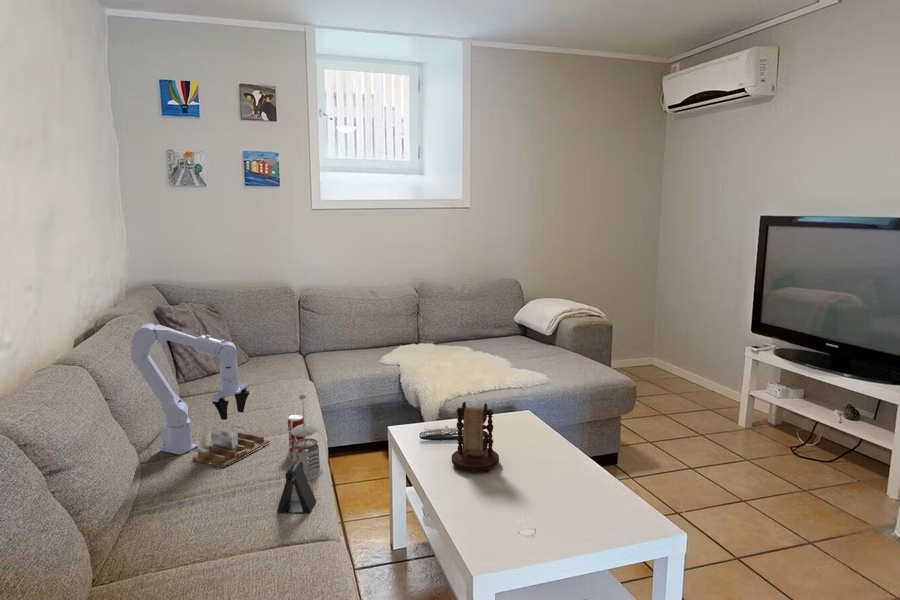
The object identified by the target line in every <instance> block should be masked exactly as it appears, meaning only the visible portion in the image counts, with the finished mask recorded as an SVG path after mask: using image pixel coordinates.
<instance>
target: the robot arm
mask: <svg viewBox="0 0 900 600" xmlns="http://www.w3.org/2000/svg"><path fill="white" fill-rule="evenodd" d="M156 341H157V342H156ZM168 341H169V342H173V343H178V344H181V345H186V346H189V347H192V348H194V351H195V352H196V353H201V354H204V355H207V356H211V357H214V358H217V357H218V359H219V375H220V386H221V387H220V388H221V390H219V391H218V392H216V393H215V394H213V395H211V402H212V404H213V405H214V406H215V409H216V410H217V412H218V414H219V416H220V419H221V420H224V421H226V420H228V405H229V402H230V401H228V400H226V399H227V398H228V397H231V396H234V399H235V401H236V402H235V403H236V410H237V413H244V411H245V408H246V402H247V399H248V397H249V395H250V391H249V383H241V384H240V379H239V370H238V367H239V366H238V362H237V361H238V359H237V355H238V354H237V353H238V352H237V347H236V345H235V343H233V342H231V341H230V340H224V339H220V340H219V339H217V338H213V337H211V335H210V334H205V335H204V334H202V335H200V336H194V335H191V334H188V333H185V332H183V331H179V330H177V329H174V328H171V327H167V326H165V325H162V324H155V323H152V322H145V323H143V324H141V325H140V326H139V328H138V329H137V330H136V331H135V332H134V334H133V336H132V338H131V339H130V343H131V347H130V348H131V349H130V350H131V351H130V359H131V361H132V362H133V364H134V365H135V367H136V368H137V370H138V371H139V373H140V374H141V376H142V378H143V379H144V381H145V382H146V383H147V384H148V386H149V387H150V389H151V390H152V392H153V394H154V395H155V396H156V398H157V399H158V400H159V402H160V404H161V407H162V411H163V412H164V414H165V417H166V418H165V420H166V423H165V422H164V424H163V425H162V427H161V430H160V437H161V446H162V448H160V451H161V452H166V453H171V454H175V455H182V454H185V453H186V452H189V451H191V450H193V449H196V448H197V447H199V444H198V443H193V434H192V423H191V419H190V418H189V417H188V415H189V411H190V406H189V404H188V403H187V402H186V401H184V400H182V398H180V396H179V395H178V394H176V393H175V392H174V390H173V389H172V386H170V384H169V382H168V380H166V377H164V375H163V374H162V371H160V368H159V367H158V366H157V365H156V363H155V361H154V360H153V359H152V357H151V356H150V352H151V350H152V347H153V345H154V343H155V342H156V343H157V344H160V343H164V342H168ZM225 398H226V399H225Z"/></svg>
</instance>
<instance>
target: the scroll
mask: <svg viewBox="0 0 900 600" xmlns="http://www.w3.org/2000/svg"><path fill="white" fill-rule="evenodd" d="M456 415H457V422H456V428H457V430H458V431H457V438H456V440H457V445H458V446H457V450H455V451H454V452H453V453H452V454H451V463H452V465H454V466H455V469H456V470H459V469H462V470H466V471H486V473H489V472H490V469H492V468H495V467H496V466H497V465H499V463H500V455H499V453H497V452H496V450H495V451H494V450H493V449H494V448H493V444H494V439H493V433H492V432H493V431H494V424H493V422H494V421H493V417H494V416H493V415H494V411H493V409H488V404H487V403H486V402H485V403H484V405H483V407H470V406H467V403H466V401H463V402H462V404H461V407H458V408H457V409H456ZM487 418H488V419H487ZM486 422H487V424H486V425H485V423H486ZM462 430H463V431H462ZM484 430H487V431H485V433H484Z"/></svg>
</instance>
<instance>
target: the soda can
mask: <svg viewBox="0 0 900 600" xmlns="http://www.w3.org/2000/svg"><path fill="white" fill-rule="evenodd" d="M302 424H305V418H304V419H303V414H293V415H290V416H288V420H287V431H288V446H290V449H289V453H291V454H292V453H293V447H294V446H293V443H294V440H295V442H296V441H297V440H301V439H305V438H306V436H303V437H298V436H294V435H292V434H291V430H292V429H294V428H295V427H297V426H299V425H302ZM293 439H294V440H293ZM292 440H293V441H292ZM291 442H292V443H291ZM290 443H291V445H290ZM294 452H306V450H294Z"/></svg>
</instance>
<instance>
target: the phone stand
mask: <svg viewBox="0 0 900 600" xmlns="http://www.w3.org/2000/svg"><path fill="white" fill-rule="evenodd" d="M295 463H296V461H295V462H294V463H292V464H291V465H290V467H289V468H288V470H287V471H286V472H285V484H284V487H283V490H282V493H281V496H280V497H281V498H280V500H279V503H278V506H277V510H276V513H277V514H300V515H301V514H304V515H305V514H306V515H307V514H310V513H312V512H311V511H312V510H313V508H314V506H315V504H316V503H317V499H316V497H315V494H314V492H313V491H312V487H311V485H310V483H309V480H307V478H306V476H305V474H304V471H303V463H302V462H300V461H299V462H298V461H297V463H298V464H297V465H296V466H295V468H294V465H295ZM294 488H295V492H296V495H297V497H298V500H292V495H293V491H294Z"/></svg>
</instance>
